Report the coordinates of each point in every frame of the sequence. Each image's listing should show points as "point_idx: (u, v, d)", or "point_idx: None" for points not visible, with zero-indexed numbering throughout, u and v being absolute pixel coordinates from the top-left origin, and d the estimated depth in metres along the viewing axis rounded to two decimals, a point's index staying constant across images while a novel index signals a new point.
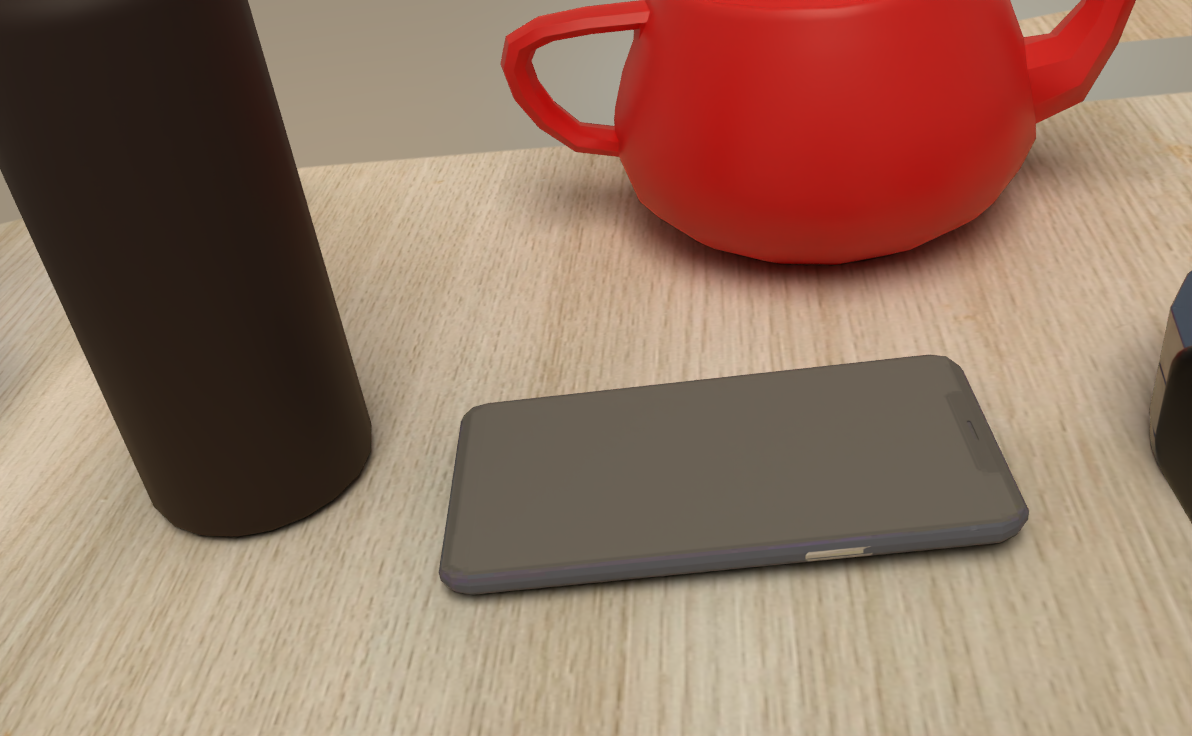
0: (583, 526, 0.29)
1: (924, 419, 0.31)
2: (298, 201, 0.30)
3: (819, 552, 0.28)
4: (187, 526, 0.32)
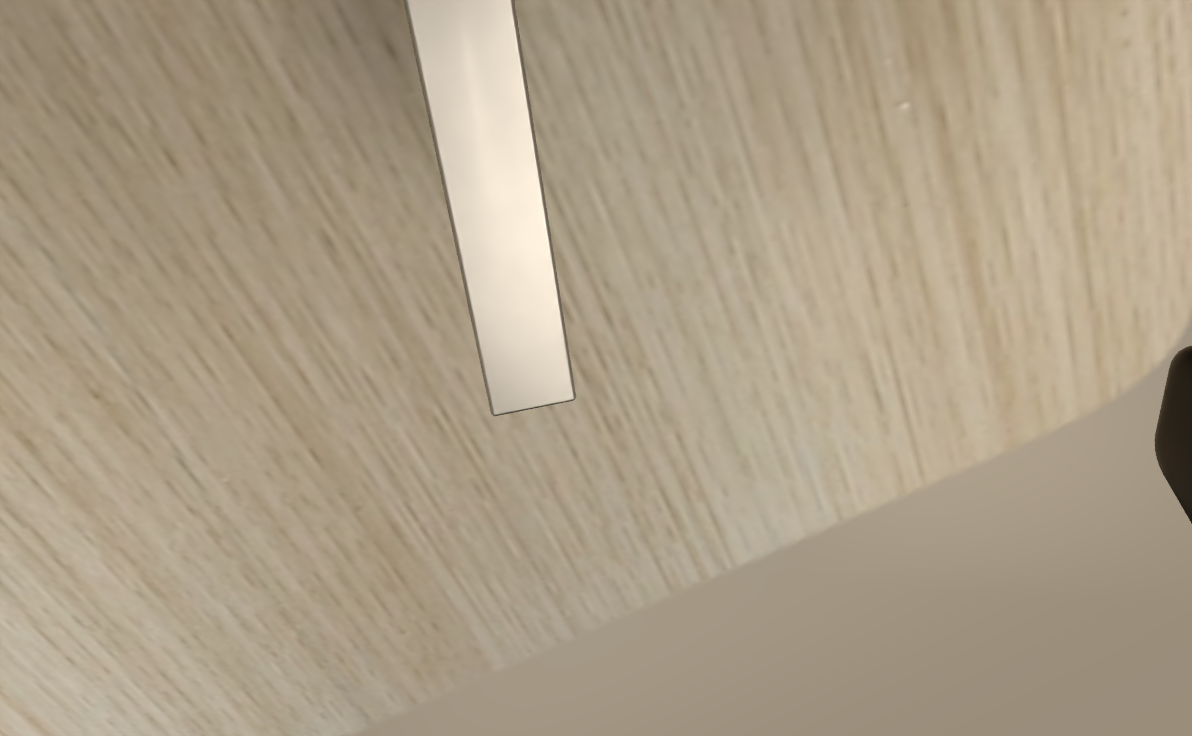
0: None
1: None
2: None
3: None
4: None
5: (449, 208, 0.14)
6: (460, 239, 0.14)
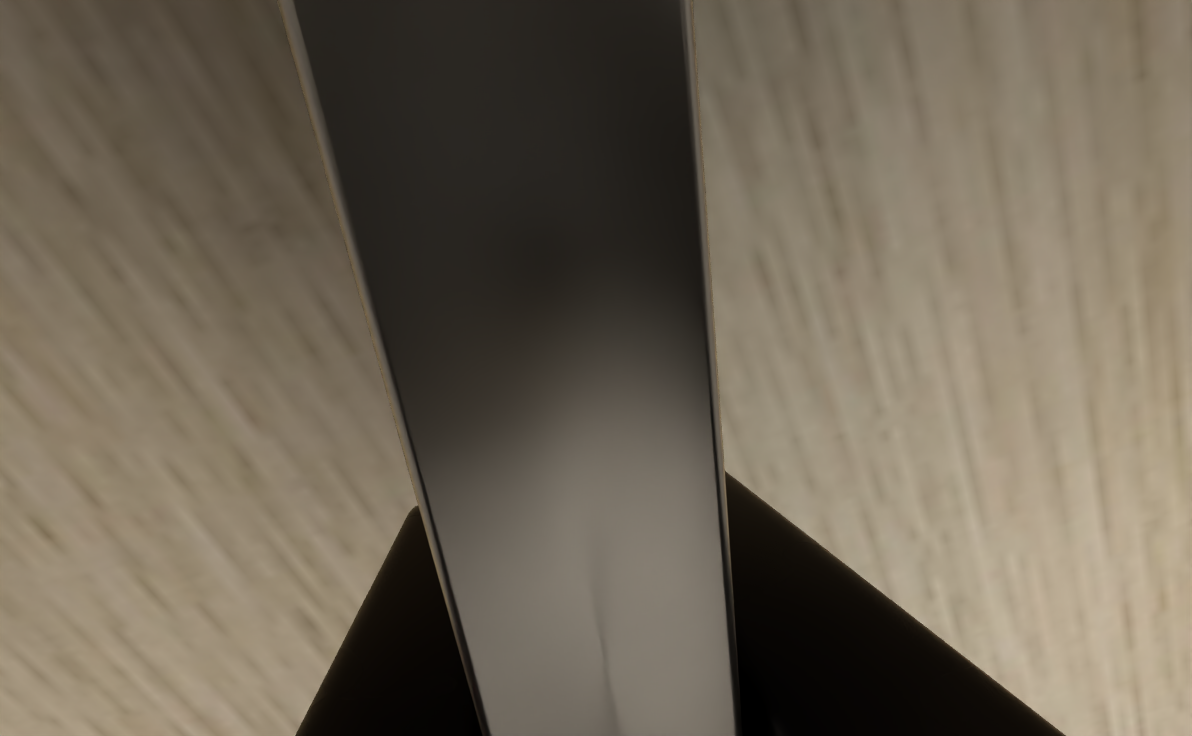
0: None
1: None
2: None
3: None
4: None
5: None
6: None
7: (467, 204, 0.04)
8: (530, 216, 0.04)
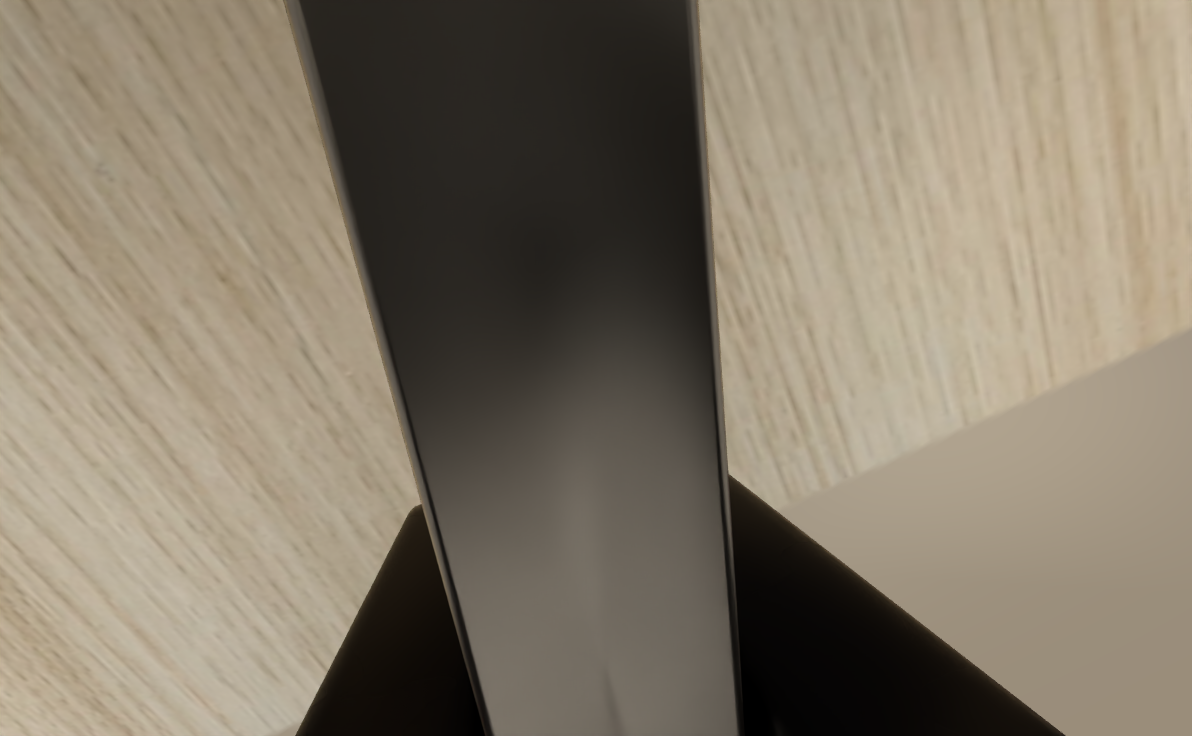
0: None
1: None
2: None
3: None
4: None
5: None
6: None
7: (471, 197, 0.04)
8: (534, 209, 0.04)
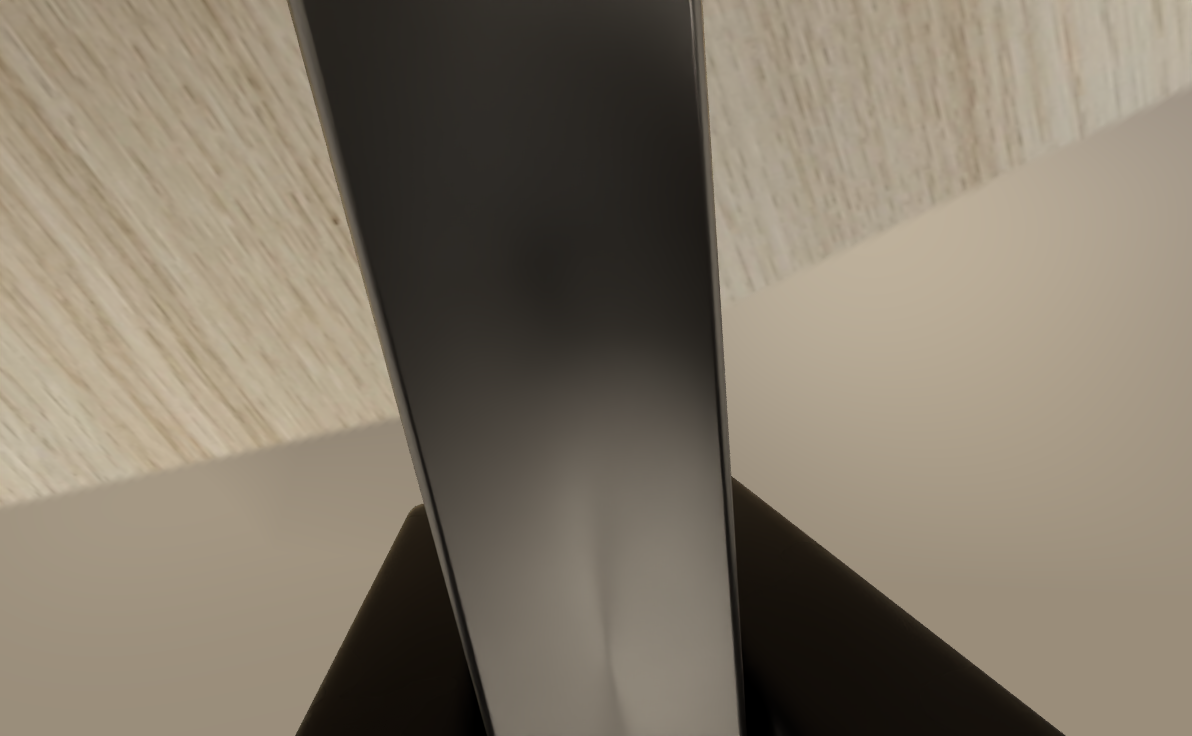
0: None
1: None
2: None
3: None
4: None
5: None
6: None
7: (471, 183, 0.04)
8: (535, 196, 0.04)
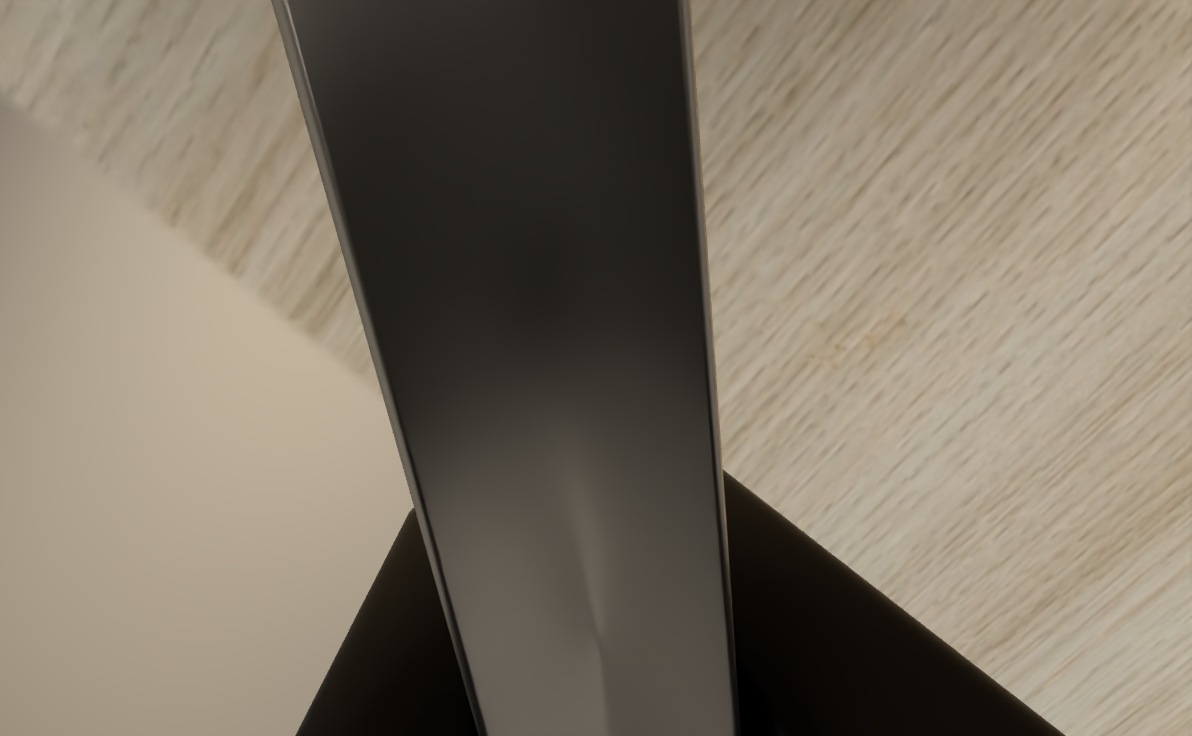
0: None
1: None
2: None
3: None
4: None
5: None
6: None
7: (452, 155, 0.03)
8: (518, 168, 0.04)
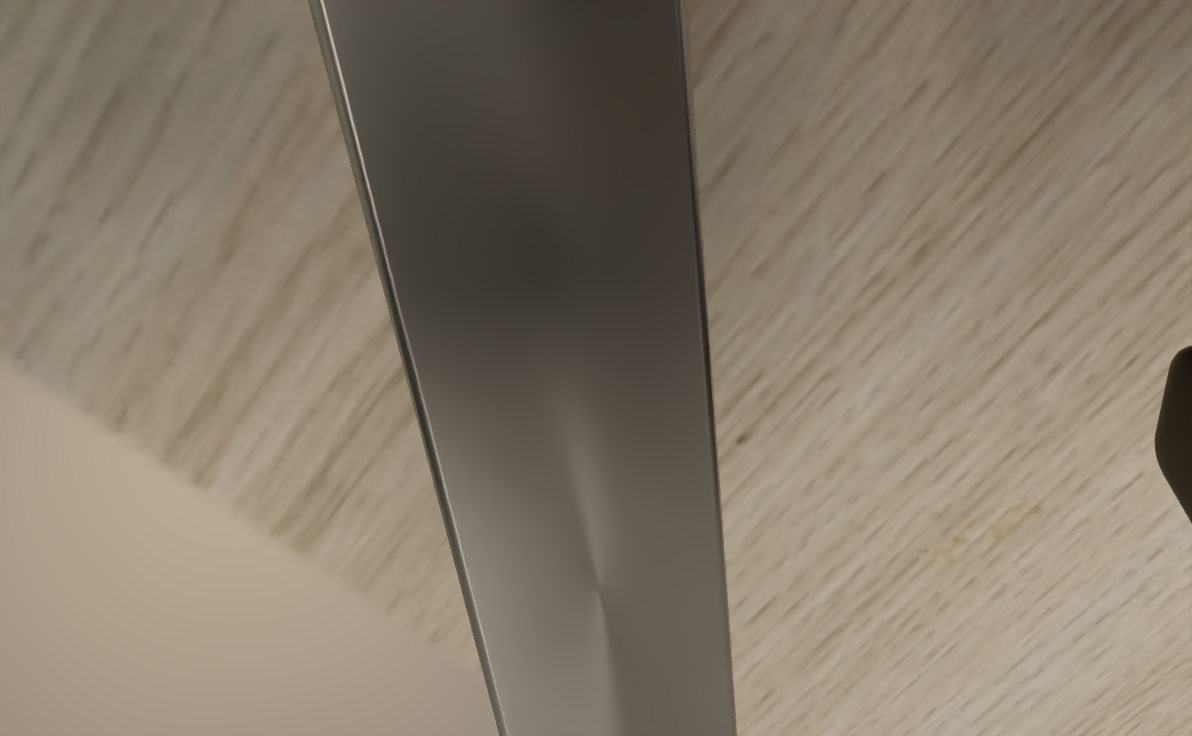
0: None
1: None
2: None
3: None
4: None
5: None
6: None
7: (468, 130, 0.04)
8: (528, 143, 0.04)
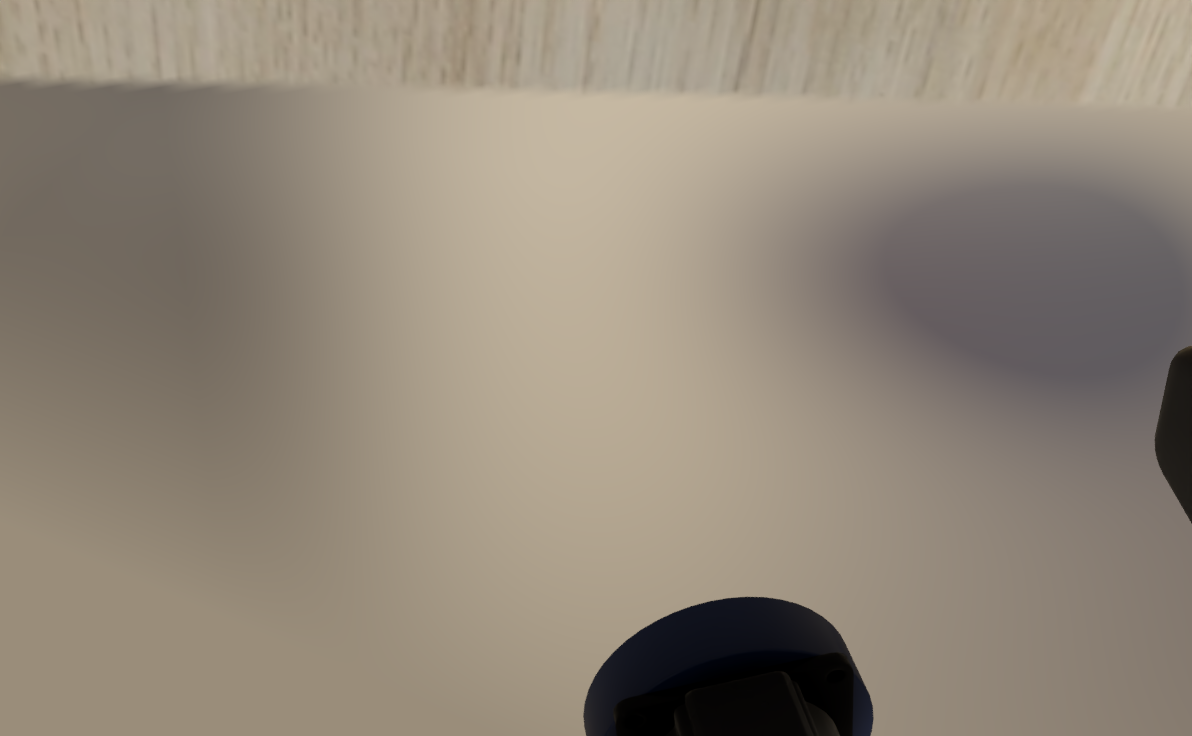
0: None
1: None
2: None
3: None
4: None
5: None
6: None
7: None
8: None
